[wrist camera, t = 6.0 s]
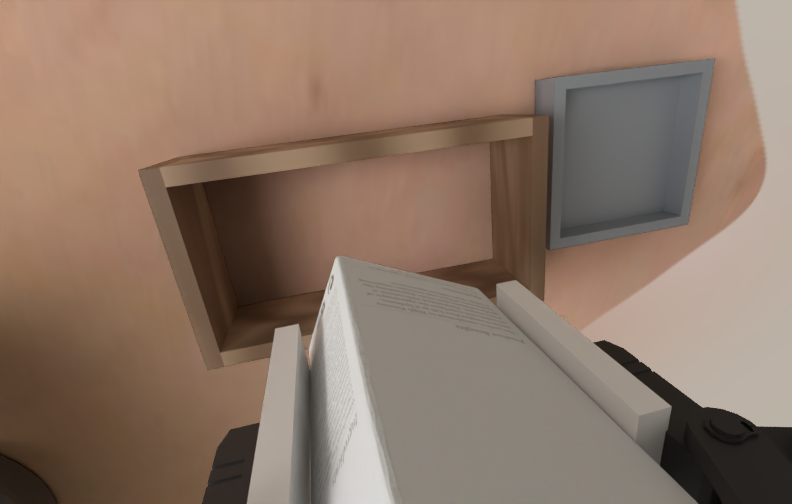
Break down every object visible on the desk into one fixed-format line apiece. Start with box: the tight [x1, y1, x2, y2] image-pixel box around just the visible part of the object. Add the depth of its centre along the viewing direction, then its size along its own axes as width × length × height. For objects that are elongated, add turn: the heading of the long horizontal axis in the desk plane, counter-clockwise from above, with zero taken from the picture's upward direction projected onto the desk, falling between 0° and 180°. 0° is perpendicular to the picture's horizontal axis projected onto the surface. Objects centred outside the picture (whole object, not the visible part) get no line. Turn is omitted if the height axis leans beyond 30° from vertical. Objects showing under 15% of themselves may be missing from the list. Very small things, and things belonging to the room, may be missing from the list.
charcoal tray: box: [535, 59, 715, 250], centre depth 29 cm, size 12×12×2 cm
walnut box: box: [138, 115, 549, 370], centre depth 26 cm, size 22×12×6 cm, turn 97°
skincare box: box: [309, 256, 698, 504], centre depth 10 cm, size 6×4×12 cm
